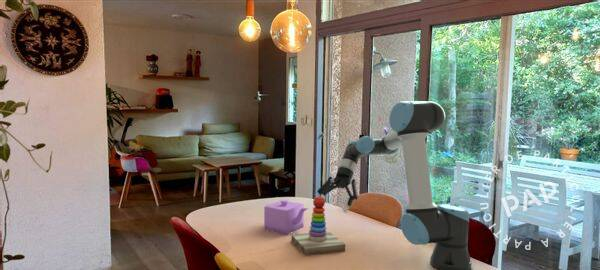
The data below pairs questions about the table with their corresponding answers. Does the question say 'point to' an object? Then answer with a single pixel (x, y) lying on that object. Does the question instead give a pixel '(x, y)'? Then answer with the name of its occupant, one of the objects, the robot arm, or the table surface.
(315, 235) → the stacking toy
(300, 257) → the table surface
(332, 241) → the wooden square board
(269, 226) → the teapot
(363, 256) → the table surface
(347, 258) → the table surface
